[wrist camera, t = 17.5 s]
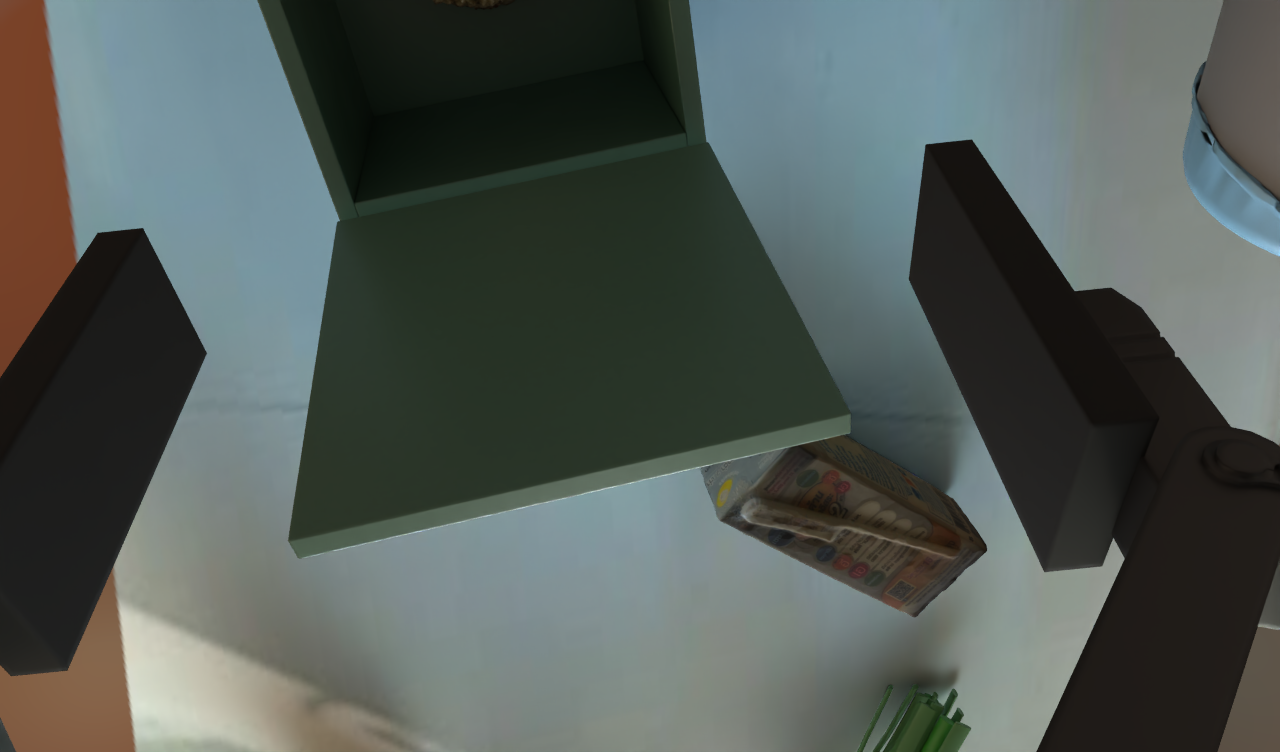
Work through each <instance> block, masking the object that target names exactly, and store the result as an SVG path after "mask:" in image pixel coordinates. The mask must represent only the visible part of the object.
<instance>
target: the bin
mask: <svg viewBox="0 0 1280 752" xmlns="http://www.w3.org/2000/svg"><path fill="white" fill-rule="evenodd" d="M257 1H258V3H259V6H260V9H261V11H262V14H263V17H264V19H265V22H266V25H267V27H268V30H269V33H270V35H271V38H272V41H273V43H274V46H275V49H276V51H277V54H278V57H279V59H280V62H281V65H282V67H283V70H284V73H285V75H286V78H287V81H288V83H289V86H290V89H291V91H292V94H293V97H294V99H295V102H296V105H297V107H298V110H299V113H300V115H301V118H302V121H303V123H304V126H305V129H306V131H307V134H308V137H309V139H310V142H311V145H312V147H313V150H314V153H315V156H316V158H317V161H318V164H319V166H320V169H321V172H322V174H323V177H324V180H325V182H326V185H327V188H328V190H329V193H330V196H331V198H332V201H333V204H334V206H335V209H336V212H337V214H338V217H339V220H340V221H343V220H347V219H352V218H357V217H361V216H366V215H371V214H375V213H380V212H385V211H389V210H394V209H399V208H403V207H408V206H413V205H417V204H422V203H427V202H431V201H436V200H441V199H445V198H450V197H455V196H459V195H464V194H469V193H473V192H478V191H483V190H487V189H492V188H497V187H501V186H506V185H511V184H515V183H520V182H525V181H529V180H534V179H539V178H543V177H548V176H553V175H557V174H562V173H567V172H571V171H576V170H581V169H585V168H590V167H595V166H599V165H604V164H609V163H613V162H618V161H623V160H627V159H632V158H637V157H641V156H646V155H651V154H655V153H660V152H665V151H669V150H674V149H679V148H683V147H688V146H693V145H697V144H702V143H706V135H705V127H704V119H703V111H702V103H701V95H700V87H699V79H698V71H697V63H696V55H695V47H694V39H693V31H692V23H691V15H690V7H689V0H515V1H514V2H512V3H511V4H509V5H499V6H498V7H497V8H495V7H494V8H493V9H491V10H490V9H485V10H482V9H477V10H475V8H474V7H472V8H470V7H466V6H463V7H457V6H455V5H452V4H449V5H447V4H445V3H441V4H436V5H435V3H434V2H433V0H257Z"/></svg>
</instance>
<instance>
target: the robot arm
mask: <svg viewBox="0 0 1280 752" xmlns="http://www.w3.org/2000/svg"><path fill="white" fill-rule="evenodd" d="M1192 94H1193V98H1192V109H1193V111H1192V115H1191V119H1190V123H1189V127H1188V132H1187V136H1186V140H1185V144H1184V150H1183V160H1184V170H1185V176H1186V178H1187V182H1188V185H1189V186H1190V188H1191V190H1192V192H1193V193H1194V195H1195V197H1196V198H1197V200H1198V201H1199V202H1200V203H1201V205H1202V206H1203V207H1204V208H1205V209H1206V210H1207V211H1208V212H1209V213H1210V214H1211V215H1212V216H1213V217H1214V218H1215V219H1217V220H1218V221H1219V222H1220V223H1221V224H1223V225H1224V226H1225V227H1227V228H1228V229H1230V230H1231V231H1233V232H1234V233H1236V234H1237V235H1239V236H1240V237H1242V238H1244V239H1245V240H1247V241H1249V242H1251V243H1252V244H1254V245H1256V246H1258V247H1260V248H1262V249H1264V250H1267V251H1269V252H1270V253H1273V254H1275V255H1277V256H1280V0H1224V2H1223V5H1222V9H1221V12H1220V16H1219V19H1218V23H1217V26H1216V30H1215V33H1214V37H1213V40H1212V44H1211V47H1210V51H1209V54H1208V58H1207V61H1206V62H1204V63H1203V64H1202V66H1201V67H1200V69H1199V71H1198V73H1197V75H1196V77H1195V81H1194V84H1193V88H1192ZM909 281H910V283H911V285H912V287H913V290H914V292H915V294H916V296H917V298H918V300H919V303H920V305H921V307H922V309H923V311H924V313H925V316H926V318H927V320H928V322H929V324H930V326H931V328H932V331H933V333H934V335H935V337H936V339H937V341H938V344H939V346H940V348H941V350H942V352H943V354H944V357H945V359H946V361H947V363H948V365H949V367H950V369H951V372H952V374H953V376H954V378H955V380H956V382H957V385H958V387H959V389H960V391H961V393H962V395H963V398H964V400H965V402H966V404H967V406H968V408H969V410H970V413H971V415H972V417H973V419H974V421H975V423H976V426H977V428H978V430H979V432H980V434H981V436H982V439H983V441H984V443H985V445H986V447H987V449H988V451H989V454H990V456H991V458H992V460H993V462H994V464H995V467H996V469H997V471H998V473H999V475H1000V477H1001V480H1002V482H1003V484H1004V486H1005V488H1006V490H1007V492H1008V495H1009V497H1010V499H1011V501H1012V503H1013V505H1014V508H1015V510H1016V512H1017V514H1018V516H1019V518H1020V521H1021V523H1022V525H1023V527H1024V529H1025V531H1026V533H1027V536H1028V538H1029V540H1030V542H1031V544H1032V546H1033V549H1034V551H1035V553H1036V555H1037V557H1038V559H1039V562H1040V564H1041V566H1042V568H1043V570H1044V572H1050V571H1060V570H1070V569H1080V568H1090V567H1100V566H1102V565H1103V563H1104V560H1105V558H1106V555H1107V553H1108V550H1109V547H1110V545H1111V542H1112V540H1113V538H1114V539H1115V541H1116V543H1117V545H1118V547H1119V549H1120V550H1121V552H1122V554H1123V556H1124V558H1125V560H1124V562H1123V564H1122V566H1121V568H1120V571H1119V573H1118V575H1117V577H1116V579H1115V581H1114V584H1113V586H1112V588H1111V590H1110V592H1109V595H1108V597H1107V599H1106V601H1105V603H1104V605H1103V608H1102V610H1101V612H1100V614H1099V616H1098V619H1097V621H1096V623H1095V625H1094V627H1093V630H1092V632H1091V634H1090V636H1089V638H1088V640H1087V643H1086V645H1085V647H1084V649H1083V651H1082V654H1081V656H1080V658H1079V660H1078V662H1077V664H1076V667H1075V669H1074V671H1073V673H1072V675H1071V678H1070V680H1069V682H1068V684H1067V686H1066V689H1065V691H1064V693H1063V695H1062V697H1061V699H1060V702H1059V704H1058V706H1057V708H1056V710H1055V713H1054V715H1053V717H1052V719H1051V721H1050V723H1049V726H1048V728H1047V730H1046V732H1045V734H1044V737H1043V739H1042V741H1041V743H1040V745H1039V748H1038V750H1037V752H1217V751H1218V748H1219V745H1220V742H1221V739H1222V735H1223V733H1224V730H1225V727H1226V724H1227V720H1228V717H1229V714H1230V711H1231V708H1232V705H1233V702H1234V699H1235V696H1236V692H1237V689H1238V686H1239V683H1240V680H1241V677H1242V674H1243V670H1244V668H1245V665H1246V661H1247V658H1248V655H1249V652H1250V649H1251V646H1252V643H1253V640H1254V636H1255V634H1256V630H1257V627H1258V626H1259V627H1265V628H1270V629H1276V630H1280V447H1279V446H1278V445H1277V444H1276V443H1274V442H1273V441H1270V440H1268V439H1266V438H1264V437H1262V436H1260V435H1258V434H1255V433H1253V432H1251V431H1246V430H1242V429H1237V428H1233V427H1231V426H1230V425H1229V424H1228V422H1227V421H1226V420H1225V418H1224V417H1223V416H1222V414H1221V413H1220V412H1219V410H1218V409H1217V408H1216V406H1215V405H1214V404H1213V402H1212V401H1211V400H1210V398H1209V397H1208V396H1207V394H1206V393H1205V392H1204V390H1203V389H1202V388H1201V386H1200V385H1199V384H1198V382H1197V381H1196V380H1195V378H1194V377H1193V376H1192V374H1191V373H1190V372H1189V370H1188V369H1187V368H1186V366H1185V365H1184V364H1183V362H1182V361H1181V360H1180V358H1179V357H1175V352H1174V350H1173V349H1172V348H1171V346H1170V345H1169V344H1168V342H1167V341H1166V340H1165V338H1164V337H1160V332H1159V330H1158V329H1157V328H1156V326H1155V325H1154V324H1153V322H1152V321H1151V320H1150V318H1149V317H1148V316H1147V314H1146V313H1145V312H1144V310H1143V309H1142V308H1141V307H1140V306H1138V305H1137V304H1135V303H1134V302H1132V301H1131V300H1129V299H1128V298H1126V297H1125V296H1123V295H1122V294H1120V293H1118V292H1117V291H1115V290H1114V289H1112V288H1103V289H1093V290H1083V291H1074V290H1073V288H1072V287H1071V285H1070V284H1069V282H1068V281H1067V279H1066V278H1065V277H1064V275H1063V274H1062V272H1061V271H1060V269H1059V268H1058V266H1057V265H1056V263H1055V262H1054V260H1053V259H1052V257H1051V256H1050V254H1049V253H1048V251H1047V250H1046V248H1045V247H1044V245H1043V244H1042V242H1041V241H1040V240H1039V238H1038V237H1037V235H1036V234H1035V232H1034V231H1033V229H1032V228H1031V226H1030V225H1029V223H1028V222H1027V220H1026V219H1025V217H1024V216H1023V214H1022V213H1021V211H1020V210H1019V208H1018V207H1017V206H1016V204H1015V203H1014V201H1013V200H1012V198H1011V197H1010V195H1009V194H1008V192H1007V191H1006V189H1005V188H1004V186H1003V185H1002V183H1001V182H1000V180H999V179H998V177H997V176H996V174H995V173H994V171H993V170H992V169H991V167H990V166H989V164H988V163H987V161H986V160H985V158H984V157H983V155H982V154H981V152H980V151H979V149H978V148H977V146H976V145H975V143H974V142H973V140H963V141H954V142H944V143H935V144H926V146H925V154H924V162H923V170H922V178H921V186H920V194H919V202H918V210H917V218H916V226H915V234H914V242H913V250H912V258H911V266H910V274H909ZM206 354H207V353H206V351H205V349H204V347H203V345H202V343H201V341H200V339H199V337H198V335H197V333H196V331H195V329H194V327H193V325H192V323H191V321H190V319H189V317H188V315H187V313H186V311H185V309H184V307H183V306H182V304H181V302H180V300H179V298H178V296H177V294H176V292H175V290H174V288H173V286H172V284H171V282H170V280H169V278H168V276H167V274H166V272H165V270H164V268H163V266H162V264H161V262H160V261H159V259H158V257H157V255H156V253H155V251H154V249H153V247H152V245H151V243H150V241H149V239H148V237H147V235H146V233H145V231H144V229H143V228H139V229H130V230H120V231H111V232H102V233H97V235H96V236H95V238H94V239H93V241H92V242H91V244H90V245H89V247H88V248H87V250H86V251H85V253H84V254H83V256H82V257H81V259H80V260H79V262H78V263H77V265H76V266H75V268H74V269H73V271H72V272H71V274H70V275H69V276H68V278H67V279H66V281H65V283H64V284H63V285H62V287H61V288H60V290H59V291H58V293H57V294H56V296H55V297H54V299H53V300H52V302H51V303H50V305H49V306H48V308H47V309H46V311H45V312H44V314H43V315H42V317H41V318H40V320H39V321H38V323H37V324H36V325H35V327H34V329H33V330H32V332H31V333H30V334H29V336H28V337H27V339H26V340H25V342H24V344H23V345H22V347H21V348H20V350H19V351H18V352H17V354H16V355H15V357H14V358H13V360H12V361H11V363H10V364H9V366H8V367H7V369H6V370H5V372H4V373H3V375H2V376H1V378H0V665H1V666H2V667H3V668H4V669H5V670H6V671H7V672H8V674H10V676H18V675H28V674H37V673H48V672H58V671H67V670H68V668H69V666H70V663H71V661H72V659H73V656H74V654H75V652H76V650H77V647H78V645H79V643H80V641H81V638H82V636H83V634H84V631H85V629H86V627H87V625H88V622H89V620H90V618H91V615H92V613H93V611H94V609H95V606H96V604H97V601H98V600H99V597H100V595H101V593H102V590H103V588H104V586H105V584H106V581H107V579H108V577H109V575H110V572H111V570H112V568H113V566H114V563H115V561H116V559H117V556H118V554H119V552H120V550H121V547H122V545H123V543H124V541H125V538H126V536H127V534H128V531H129V529H130V527H131V525H132V522H133V520H134V518H135V516H136V513H137V511H138V509H139V506H140V504H141V502H142V500H143V497H144V495H145V493H146V491H147V488H148V486H149V484H150V481H151V479H152V477H153V475H154V472H155V470H156V468H157V465H158V463H159V461H160V459H161V456H162V454H163V452H164V450H165V447H166V445H167V443H168V440H169V438H170V436H171V434H172V431H173V429H174V427H175V425H176V422H177V420H178V418H179V415H180V413H181V411H182V409H183V406H184V404H185V402H186V400H187V397H188V395H189V393H190V390H191V388H192V386H193V384H194V381H195V379H196V377H197V375H198V372H199V370H200V368H201V365H202V363H203V361H204V359H205V356H206ZM0 752H16V751H15V749H14V747H13V744H12V742H11V740H10V738H9V736H8V734H7V731H6V730H5V727H4V725H3V723H2V721H1V718H0Z"/></svg>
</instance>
